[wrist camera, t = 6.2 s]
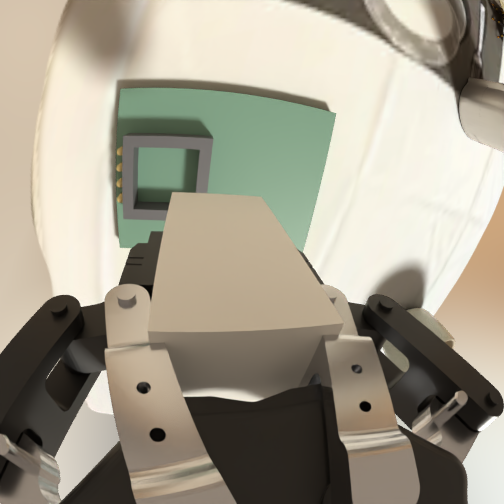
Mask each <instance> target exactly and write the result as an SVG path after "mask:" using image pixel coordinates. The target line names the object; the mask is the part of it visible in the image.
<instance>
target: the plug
mask: <svg viewBox="0 0 504 504" xmlns="http://www.w3.org/2000/svg"><path fill="white" fill-rule="evenodd" d="M343 325H344V321H343V320H342V318H341V317H340V315H339V313H338V312H337V310H336V309H335V307H334V305H333V304H332V302H331V301H330V299H329V297H328V296H327V294H326V293H325V291H324V289H323V288H322V286H321V285H320V283H319V282H318V280H317V279H316V277H315V275H314V274H313V272H312V271H311V269H310V268H309V266H308V265H307V263H306V262H305V260H304V259H303V257H302V256H301V254H300V253H299V251H298V250H297V248H296V247H295V245H294V244H293V242H292V241H291V239H290V238H289V236H288V235H287V233H286V232H285V230H284V229H283V227H282V226H281V224H280V223H279V221H278V220H277V218H276V217H275V215H274V214H273V213H272V211H271V210H270V208H269V207H268V205H267V204H266V202H265V201H264V200H263V198H262V197H258V196H244V195H229V194H210V193H186V192H172V195H171V199H170V204H169V208H168V212H167V217H166V221H165V226H164V231H163V236H162V241H161V246H160V251H159V256H158V262H157V268H156V274H155V280H154V286H153V293H152V299H151V307H150V314H149V322H148V337H149V343H164V342H165V345H166V348H167V351H168V354H169V357H170V360H171V363H172V366H173V369H174V372H175V375H176V378H177V380H178V383H179V386H180V389H181V391H182V394H183V397H200V396H214V397H220V398H226V399H233V400H240V401H248V402H256V401H259V400H262V399H265V398H268V397H270V396H273V395H276V394H278V393H281V392H283V391H286V390H288V389H292V388H298V386H299V384H300V382H301V380H302V378H303V376H304V374H305V372H306V370H307V368H308V366H309V364H310V362H311V360H312V358H313V355H314V353H315V351H316V349H317V347H318V345H319V342H320V340H321V338H322V336H323V335H339V333H340V331H341V329H342V327H343Z"/></svg>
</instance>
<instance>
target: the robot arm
mask: <svg viewBox="0 0 504 504" xmlns="http://www.w3.org/2000/svg"><path fill="white" fill-rule="evenodd" d="M459 113H460V120H461V124H462V127H463V129H464V132H465V133H466V135H467V136H468V137H469V138H470V139H472V140H474V141H477V142H479V143H481V144H484V145H487V146H489V147H492V148H494V149H497V150H499V151H501V152H503V153H504V84H503V83H498V82H493V81H488V80H483V79H477V78H470V77H469V78H468V83H467V84H466V85H465V87H464V88H463V90H462V92H461V96H460V101H459ZM162 236H163V231H151V233H150V236H149V240H148V243H137V244H136V245H135V246H134V247H133V248H132V249H131V250H130V252H129V255H128V259H127V261H126V265H125V267H124V270H123V273H122V276H121V279H120V282H119V285H118V286H116V287H114V288H113V289H111V290H110V291H109V292H108V293H107V294H106V296H105V302H102V303H100V304H96V305H91V306H85V307H81V306H80V303H79V301H78V300H77V299H76V298H75V297H73V296H70V295H59V296H56V297H53V298H51V299H50V300H48V301H47V302H46V303H45V304H44V305H43V306H42V307H41V308H40V309H39V310H38V311H37V312H36V313H35V314H34V316H32V317H31V319H30V320H29V321H28V322H27V323H26V324H25V325H24V326H23V328H22V329H21V330H20V331H19V332H18V333H17V335H16V336H15V337H14V338H13V339H12V340H11V341H10V343H9V344H8V345H7V346H6V348H5V349H4V350H3V351H2V353H1V354H0V503H1V504H468V501H467V474H466V471H465V468H464V466H463V464H462V463H463V461H464V459H465V458H466V456H467V454H468V452H469V451H470V449H471V447H472V445H473V443H474V441H475V439H476V438H477V435H478V434H479V433H480V432H481V431H482V430H483V429H485V428H486V427H487V426H488V425H489V424H491V423H492V422H493V421H494V420H495V419H496V418H497V417H499V416H500V415H501V414H502V412H503V408H504V403H503V399H502V396H501V394H500V393H499V391H498V390H497V389H496V388H495V387H494V386H493V385H492V384H491V383H490V382H489V381H488V380H486V379H485V378H484V377H483V376H482V375H480V373H479V372H478V371H477V370H476V369H474V368H473V367H472V366H471V365H470V364H469V363H468V362H467V361H466V360H464V359H463V358H462V357H461V356H460V355H459V354H458V353H456V352H455V351H454V350H453V349H452V348H451V347H450V346H448V345H447V344H446V343H445V342H444V341H443V340H441V339H440V338H439V337H438V336H437V335H435V334H434V333H433V332H432V331H431V330H430V329H428V328H427V327H426V326H425V325H423V324H422V323H421V322H420V321H419V320H417V319H416V318H415V317H414V316H412V315H411V314H410V313H409V312H408V311H406V310H405V309H404V308H403V307H401V306H400V305H399V304H398V303H396V302H395V301H394V300H392V299H391V298H389V297H387V296H384V295H378V294H376V295H372V296H370V297H369V298H368V300H367V303H366V305H362V304H356V303H350V302H348V301H347V299H346V297H345V295H344V294H343V293H342V292H341V291H340V290H338V289H336V288H334V287H332V286H329V285H324V283H323V282H322V280H321V279H320V277H319V276H318V274H317V273H316V271H315V270H314V268H312V265H311V264H310V262H308V259H307V258H306V256H305V255H304V253H302V252H301V251H299V250H298V249H297V250H298V251H299V253H300V254H301V256H302V257H303V259H304V260H305V262H306V263H307V265H308V266H309V268H310V269H311V271H312V272H313V274H314V275H315V277H316V279H317V280H318V282H319V283H320V285H321V286H322V288H323V289H324V291H325V293H326V294H327V296H328V297H329V299H330V301H331V302H332V304H333V305H334V307H335V309H336V310H337V312H338V313H339V315H340V317H341V318H342V320H343V321H344V325H343V327H342V329H341V331H340V333H339V335H323V336H322V338H321V340H320V342H319V345H318V347H317V349H316V351H315V353H314V355H313V358H312V360H311V362H310V364H309V366H308V368H307V370H306V372H305V374H304V376H303V378H302V380H301V382H300V384H299V386H298V388H292V389H288V390H286V391H283V392H281V393H278V394H276V395H273V396H270V397H268V398H265V399H262V400H259V401H256V402H248V401H240V400H233V399H226V398H220V397H214V396H200V397H183V394H182V391H181V389H180V386H179V383H178V380H177V378H176V375H175V372H174V369H173V366H172V363H171V360H170V357H169V354H168V351H167V348H166V345H165V342H164V343H149V337H148V322H149V314H150V307H151V299H152V293H153V286H154V280H155V274H156V268H157V262H158V256H159V251H160V246H161V241H162ZM386 340H388V341H389V342H390V343H391V344H392V345H393V346H394V347H396V348H397V349H398V350H399V351H400V352H401V353H402V354H403V355H404V356H406V358H407V359H408V361H409V368H408V370H407V371H406V372H403V371H402V370H400V369H399V368H398V367H397V366H396V365H395V364H394V363H393V362H392V361H391V360H390V359H389V358H388V357H386V356H385V355H384V354H383V353H382V352H381V351H380V350H381V348H382V346H383V345H384V343H385V342H386ZM59 359H60V360H59ZM58 360H59V362H58ZM57 362H58V363H57ZM56 363H57V365H56ZM55 365H56V366H55ZM54 366H55V367H54ZM53 367H54V369H53ZM52 369H53V371H52V372H51V370H52ZM102 370H107V377H108V384H109V391H110V397H111V402H112V408H113V413H114V418H115V421H116V427H117V430H118V435H119V439H120V441H119V442H118V443H117V444H116V445H115V446H114V447H113V448H112V449H111V450H110V451H109V452H108V453H107V454H106V456H105V457H104V458H103V459H102V460H101V461H100V462H99V463H98V464H97V465H96V466H95V467H94V468H93V469H92V470H91V471H90V472H89V473H88V475H86V477H85V478H84V479H83V480H82V481H81V482H80V483H79V484H78V485H77V486H76V487H75V488H74V489H73V490H72V491H71V492H70V493H69V494H68V495H67V496H66V497H65V498H64V499H63V500H62V501H61V499H60V496H59V493H58V484H59V482H60V471H59V467H58V464H57V462H56V460H55V459H54V458H55V456H56V453H57V452H58V450H59V448H60V446H61V443H62V441H63V440H64V438H65V436H66V434H67V432H68V430H69V428H70V426H71V424H72V422H73V420H74V419H75V417H76V415H77V413H78V411H79V409H80V407H81V406H82V404H83V402H84V400H85V399H86V397H87V395H88V393H89V392H90V390H91V388H92V387H93V385H94V383H95V381H96V380H97V378H98V376H99V375H100V373H101V371H102ZM50 372H51V373H50ZM49 373H50V375H49ZM48 375H49V376H48ZM47 376H48V378H47ZM46 378H47V379H46ZM395 414H396V415H397V416H398V417H399V418H400V419H401V420H402V421H403V422H404V423H405V424H406V425H407V426H408V427H409V428H410V429H411V430H412V432H411V431H409V430H407V429H405V428H403V427H402V426H400V425H398V424H397V421H396V416H395Z"/></svg>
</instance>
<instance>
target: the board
mask: <svg viewBox="0 0 504 504" xmlns="http://www.w3.org/2000/svg"><path fill="white" fill-rule="evenodd" d="M335 117H336V113H333V112H330V111H326V110H322V109H318V108H314V107H310V106H306V105H302V104H297V103H293V102H288V101H283V100H278V99H272V98H267V97H261V96H254V95H248V94H240V93H232V92H224V91H213V90H201V89H185V88H125V89H120V99H119V109H118V123H117V142H116V197H117V217H118V231H119V243H120V248H133V247H134V246H135V245H136V244H137V243H148V240H149V236H150V233H151V231H164V226H165V221H166V217H167V212H168V208H169V204H170V199H171V195H172V192H186V193H210V194H229V195H244V196H258V197H262V198H263V200H264V201H265V202H266V204H267V205H268V207H269V208H270V210H271V211H272V213H273V214H274V215H275V217H276V218H277V220H278V221H279V223H280V224H281V226H282V227H283V229H284V230H285V232H286V233H287V235H288V236H289V238H290V239H291V241H292V242H293V244H294V245H295V247H296V248H297V249H298V250H299V251H301V252H302V253H303V249H304V246H305V242H306V239H307V235H308V231H309V227H310V224H311V220H312V216H313V212H314V208H315V204H316V200H317V196H318V192H319V188H320V184H321V180H322V176H323V172H324V167H325V163H326V159H327V154H328V150H329V145H330V141H331V136H332V131H333V127H334V122H335Z"/></svg>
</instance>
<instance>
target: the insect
mask: <svg viewBox="0 0 504 504" xmlns="http://www.w3.org/2000/svg"><path fill="white" fill-rule="evenodd" d="M499 2H500V4H501V11H500V10H499V9H498V8H497V7H496V6H495V5H494V4H492V3H491V4H492V6H493V7H494V8H495V9H496V10H497V12H498V13H499V14H501V15H502V16H503V19H504V0H499ZM491 19H493V20H494V21H497V20H496V19H494V18H491ZM497 22H498V23H499V24H500V25H502V26H504V24H503V23H501V22H500V21H497ZM503 36H504V34H502V35H501V36H497V37H498V38H500V37H503Z"/></svg>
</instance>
